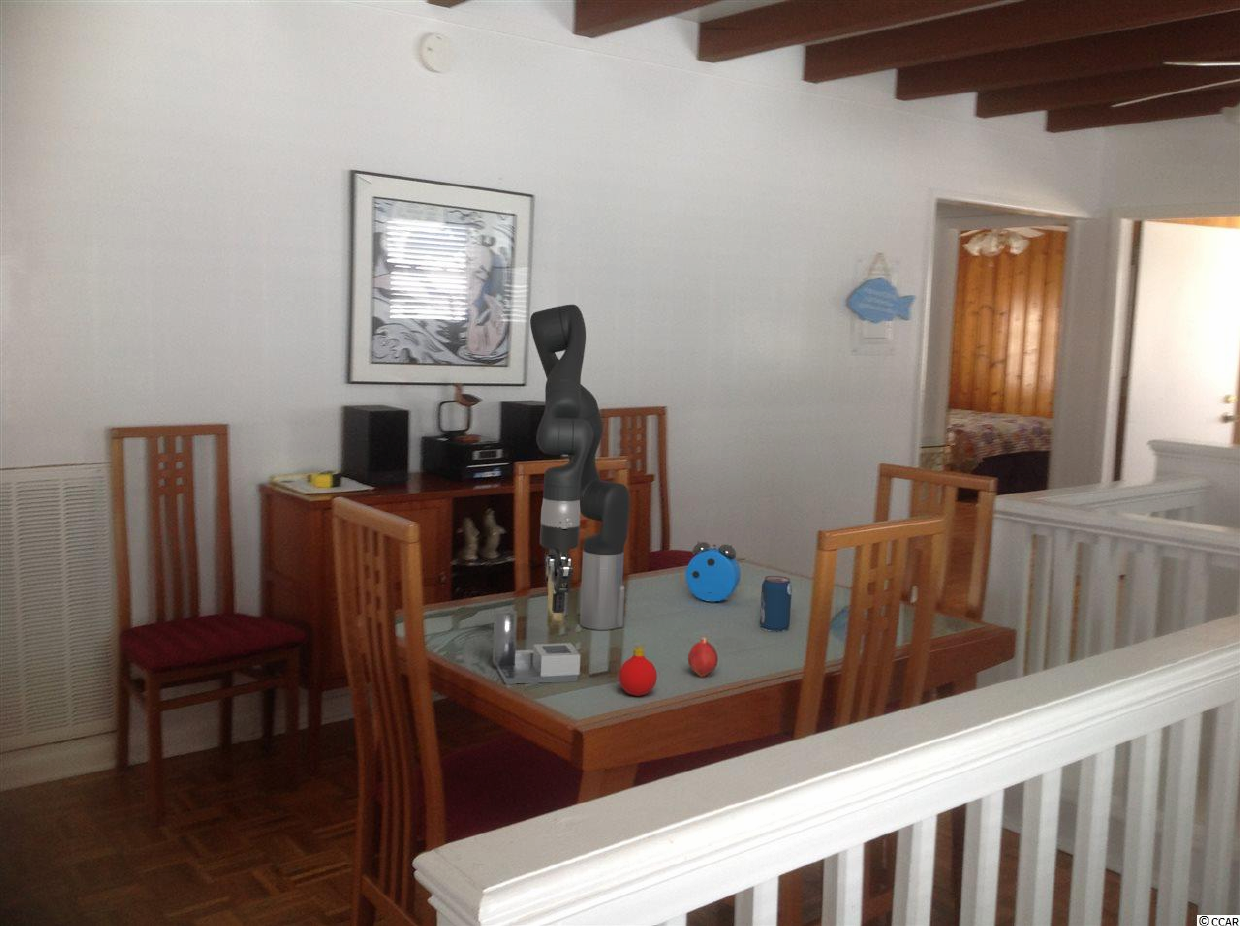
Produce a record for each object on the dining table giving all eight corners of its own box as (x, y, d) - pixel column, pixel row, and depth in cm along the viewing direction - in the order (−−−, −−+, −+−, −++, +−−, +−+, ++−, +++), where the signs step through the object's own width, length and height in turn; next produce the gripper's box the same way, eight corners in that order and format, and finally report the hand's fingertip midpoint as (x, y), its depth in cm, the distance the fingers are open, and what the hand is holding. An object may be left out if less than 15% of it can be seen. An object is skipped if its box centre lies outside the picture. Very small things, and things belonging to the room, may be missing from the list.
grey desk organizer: (564, 661, 218) (566, 607, 217) (579, 681, 207) (582, 624, 206) (490, 665, 214) (492, 610, 213) (502, 684, 203) (504, 626, 201)
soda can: (795, 629, 251) (798, 579, 250) (777, 634, 246) (781, 583, 245) (770, 623, 256) (773, 573, 255) (753, 628, 251) (756, 577, 250)
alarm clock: (739, 601, 276) (742, 543, 274) (733, 606, 270) (737, 547, 269) (690, 594, 280) (693, 538, 279) (683, 599, 275) (686, 542, 273)
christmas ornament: (651, 688, 205) (654, 637, 204) (659, 700, 198) (662, 648, 197) (615, 688, 204) (617, 636, 203) (621, 701, 197) (623, 648, 196)
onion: (685, 671, 216) (687, 633, 215) (713, 672, 216) (715, 633, 215) (689, 681, 210) (691, 641, 209) (718, 681, 211) (720, 642, 210)
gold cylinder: (545, 623, 209) (547, 573, 208) (561, 623, 210) (563, 573, 209) (548, 628, 206) (551, 576, 205) (564, 627, 207) (567, 576, 206)
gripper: (533, 515, 212) (529, 601, 214) (549, 528, 198) (544, 620, 200) (570, 515, 214) (566, 600, 216) (588, 528, 200) (583, 619, 202)
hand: (555, 609), depth 208 cm, fingers closed on gold cylinder, 3 cm apart
